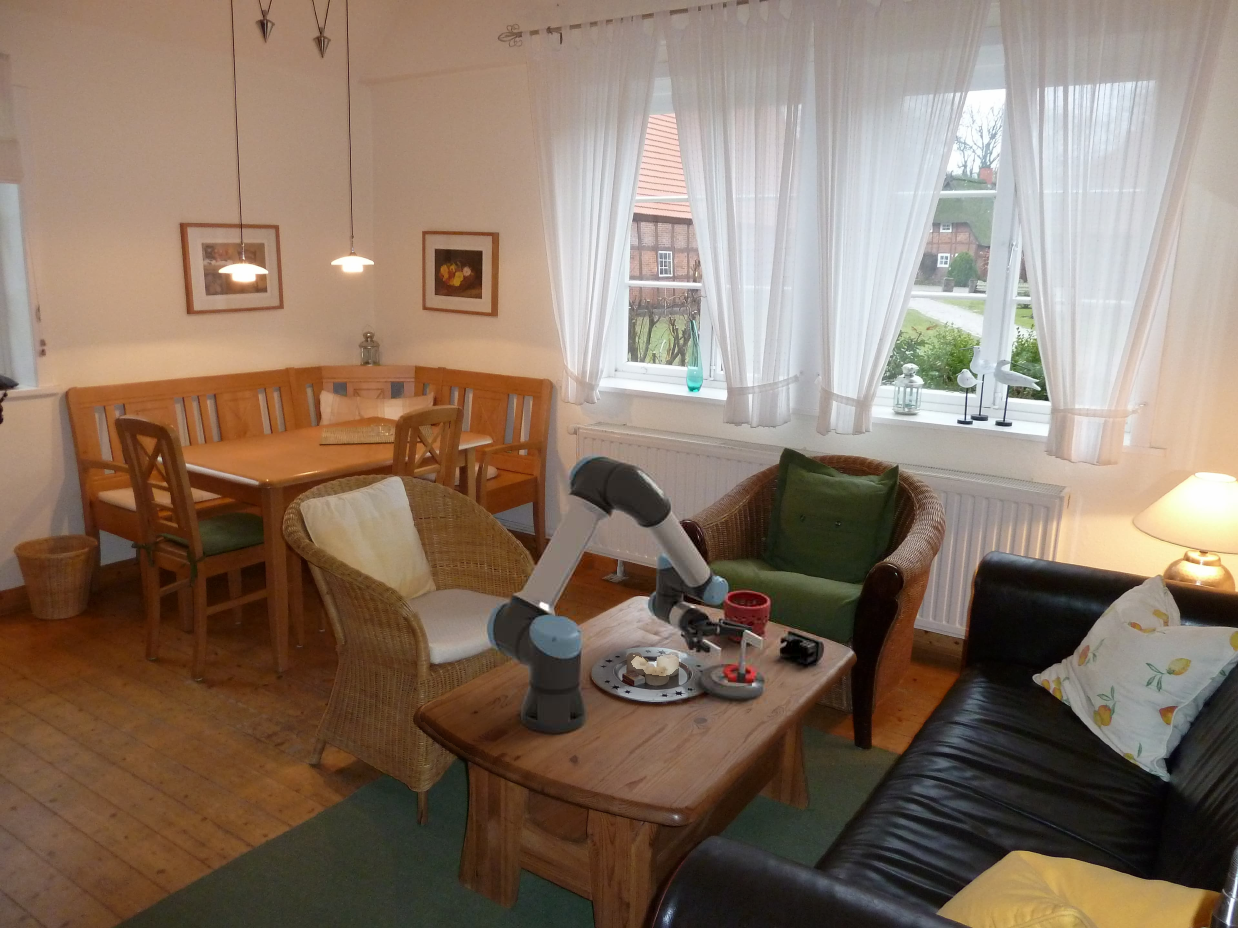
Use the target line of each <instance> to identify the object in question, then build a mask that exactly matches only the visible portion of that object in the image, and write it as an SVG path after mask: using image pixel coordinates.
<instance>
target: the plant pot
mask: <svg viewBox="0 0 1238 928" xmlns="http://www.w3.org/2000/svg"><path fill="white" fill-rule="evenodd" d="M741 600H744V602H743V603H742V602H741ZM734 602H736V603H737V604H734ZM749 603H750V604H749ZM770 611H771V599H770V598H769V597H768V596H766V595H765V594H763V593H760V592H756V591H751V590H736V591H731V592H728V593H727V596H726V598H725V599H724V601H723V617H724V618H723V619H725V620H727V621H731V622H735V623H739V624H743V625H747V626H751V627H753V629H752V633H754V634H755V635H757V636H759V637H761V638H763V639H764V638H765V637H766V633H767V632H766V630H765V629H766V627H767V625H768V622H769V617H770ZM727 637H728V638H730V639H731V640H732V641H734V642H738V643H741V641H742V638H737V637H731V636H727ZM746 644H749V643H748V642H746Z"/></svg>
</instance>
